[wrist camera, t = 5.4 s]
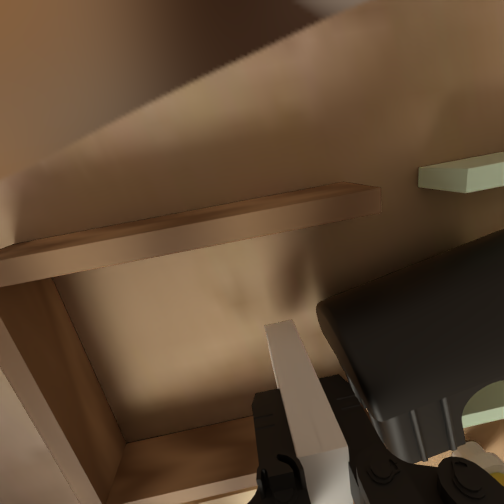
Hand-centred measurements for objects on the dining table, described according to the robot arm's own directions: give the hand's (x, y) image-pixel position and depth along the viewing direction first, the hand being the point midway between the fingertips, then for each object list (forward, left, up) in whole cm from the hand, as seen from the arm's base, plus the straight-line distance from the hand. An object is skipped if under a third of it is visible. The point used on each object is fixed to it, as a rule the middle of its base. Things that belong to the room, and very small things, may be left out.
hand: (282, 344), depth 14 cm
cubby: (-3, 0, -2) cm, 4 cm away
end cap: (+7, 0, -2) cm, 8 cm away
